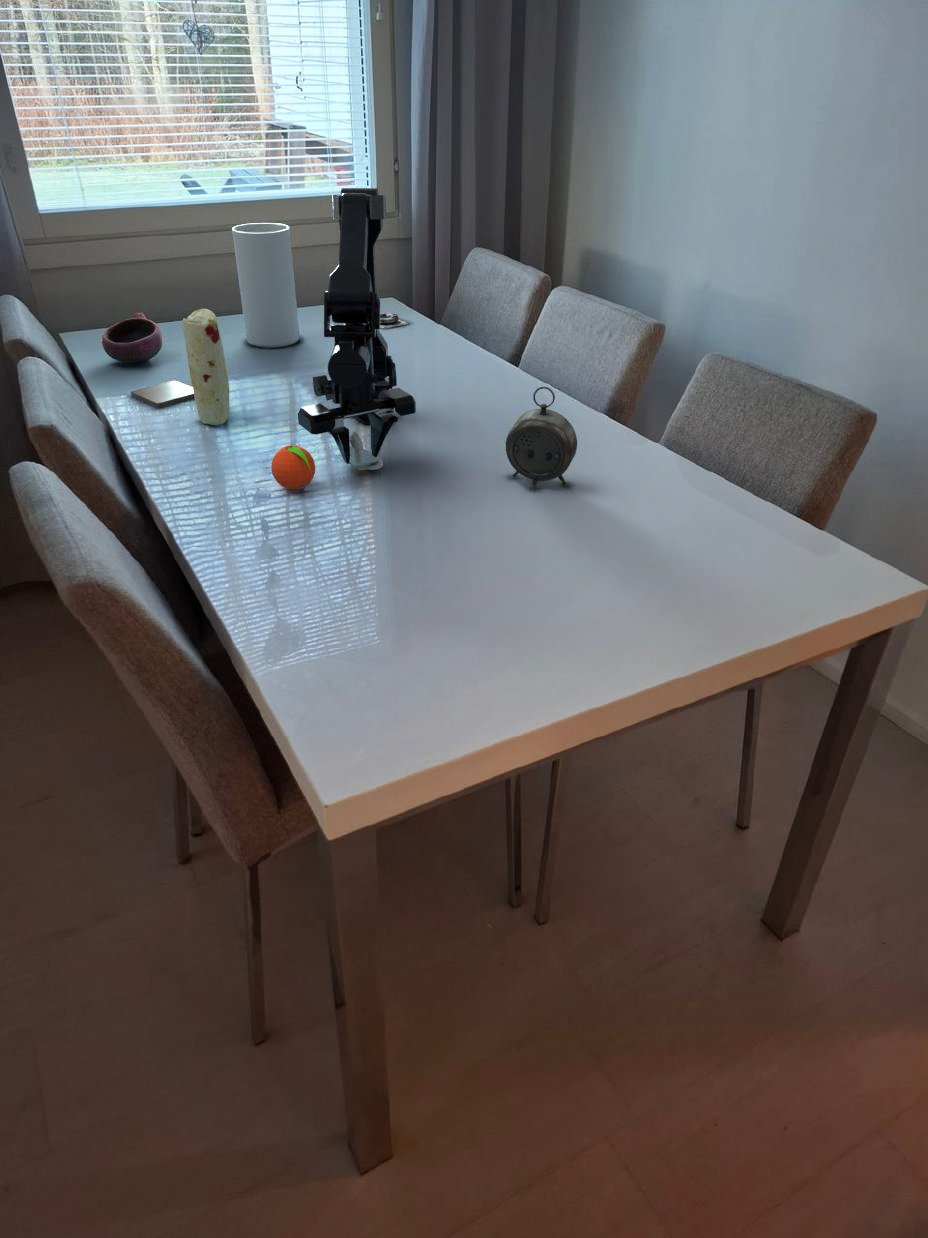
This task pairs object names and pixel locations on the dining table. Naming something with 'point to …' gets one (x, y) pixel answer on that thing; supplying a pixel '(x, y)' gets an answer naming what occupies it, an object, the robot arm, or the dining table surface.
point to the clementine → (293, 467)
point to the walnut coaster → (164, 394)
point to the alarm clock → (541, 444)
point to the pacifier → (362, 455)
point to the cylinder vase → (266, 284)
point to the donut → (390, 320)
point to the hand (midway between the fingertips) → (360, 459)
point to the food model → (207, 366)
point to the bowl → (133, 340)
